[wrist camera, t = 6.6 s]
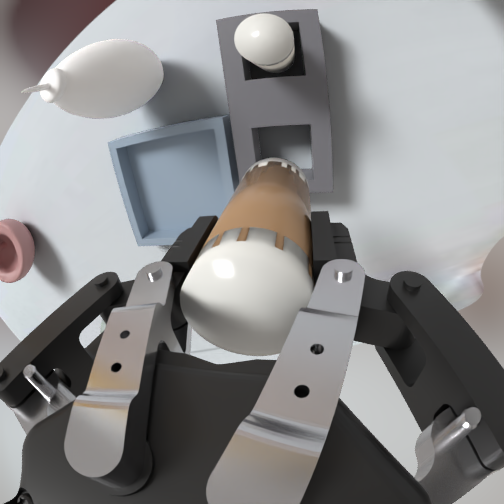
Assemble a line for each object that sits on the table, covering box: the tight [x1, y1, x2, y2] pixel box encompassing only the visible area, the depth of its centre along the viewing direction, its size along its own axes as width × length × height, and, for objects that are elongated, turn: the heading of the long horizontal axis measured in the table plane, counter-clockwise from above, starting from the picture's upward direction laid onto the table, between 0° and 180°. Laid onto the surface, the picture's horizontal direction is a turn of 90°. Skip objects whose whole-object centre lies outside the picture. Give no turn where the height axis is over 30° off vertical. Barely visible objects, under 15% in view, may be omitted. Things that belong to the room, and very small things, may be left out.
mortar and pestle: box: [0, 219, 35, 283], centre depth 37 cm, size 12×12×11 cm
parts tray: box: [108, 115, 240, 246], centre depth 31 cm, size 14×14×3 cm
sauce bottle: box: [21, 39, 164, 119], centre depth 18 cm, size 8×8×18 cm
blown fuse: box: [180, 158, 315, 356], centre depth 12 cm, size 4×4×10 cm
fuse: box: [234, 13, 295, 73], centre depth 18 cm, size 4×4×10 cm
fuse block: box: [216, 9, 333, 193], centre depth 24 cm, size 18×9×4 cm, turn 7°
